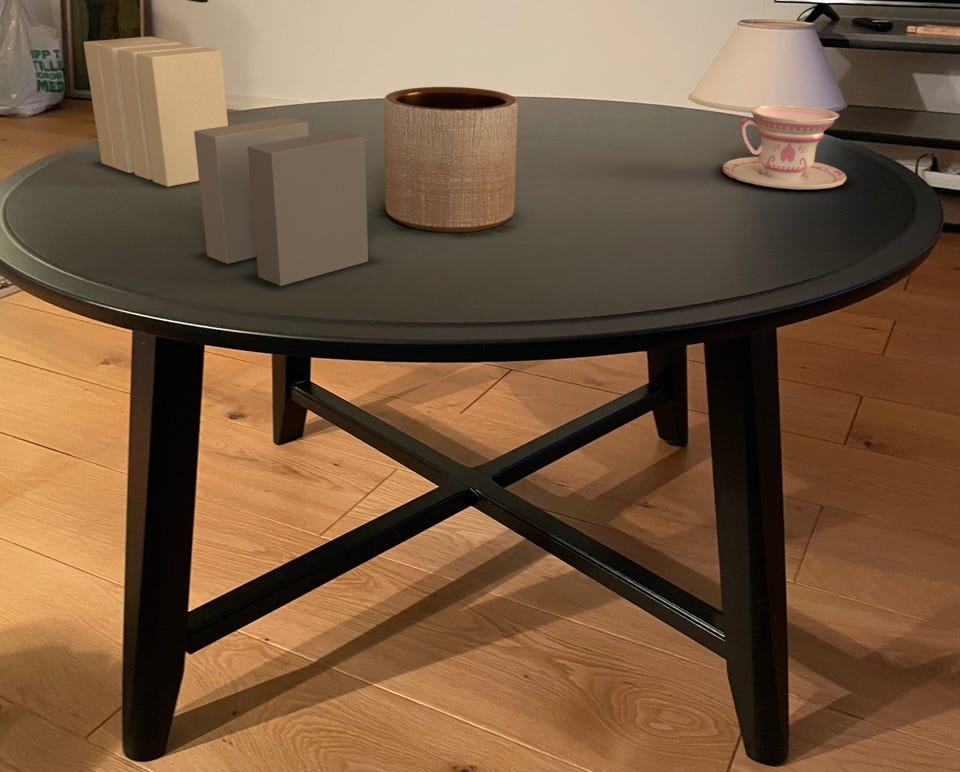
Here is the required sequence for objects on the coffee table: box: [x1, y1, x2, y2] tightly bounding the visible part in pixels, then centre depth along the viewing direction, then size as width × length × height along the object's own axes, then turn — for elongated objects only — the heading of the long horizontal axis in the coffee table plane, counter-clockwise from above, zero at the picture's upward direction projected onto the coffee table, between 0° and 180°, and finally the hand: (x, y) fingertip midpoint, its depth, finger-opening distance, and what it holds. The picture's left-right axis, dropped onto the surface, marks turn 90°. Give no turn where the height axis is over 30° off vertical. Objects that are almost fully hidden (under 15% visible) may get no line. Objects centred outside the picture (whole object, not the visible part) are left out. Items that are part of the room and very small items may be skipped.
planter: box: [383, 86, 519, 233], centre depth 84 cm, size 11×11×10 cm
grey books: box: [194, 116, 369, 287], centre depth 74 cm, size 8×9×9 cm
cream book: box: [118, 43, 203, 181], centre depth 95 cm, size 7×2×11 cm, turn 137°
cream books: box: [83, 36, 229, 188], centre depth 95 cm, size 7×12×11 cm, turn 47°
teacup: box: [722, 104, 847, 190], centre depth 101 cm, size 12×12×6 cm
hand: (147, 2), depth 90 cm, fingers open, 9 cm apart
